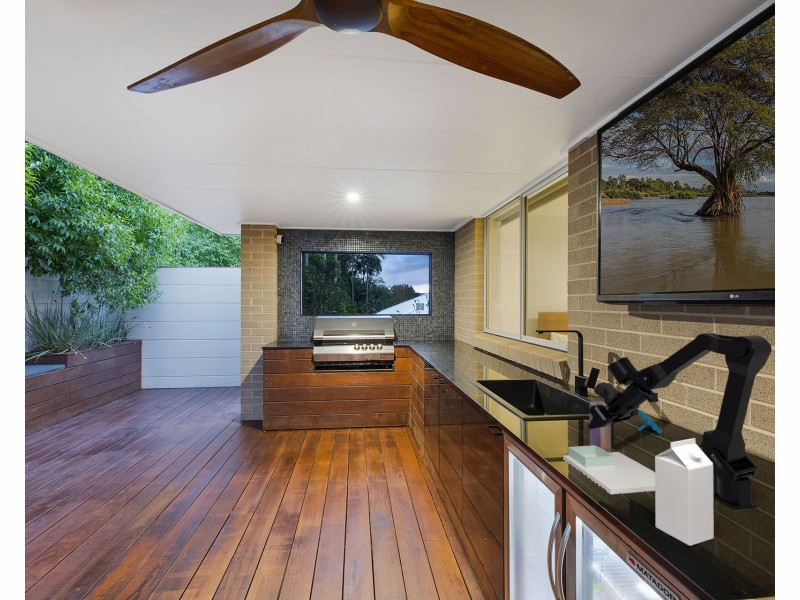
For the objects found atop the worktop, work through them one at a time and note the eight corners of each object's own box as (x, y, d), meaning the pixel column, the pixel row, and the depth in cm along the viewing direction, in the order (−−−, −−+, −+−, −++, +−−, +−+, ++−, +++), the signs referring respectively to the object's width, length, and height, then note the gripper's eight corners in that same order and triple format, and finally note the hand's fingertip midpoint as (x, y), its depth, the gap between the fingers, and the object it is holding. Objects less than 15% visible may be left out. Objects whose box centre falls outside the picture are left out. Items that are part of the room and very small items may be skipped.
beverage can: (589, 452, 127) (588, 404, 127) (590, 446, 133) (590, 400, 133) (610, 456, 125) (610, 406, 125) (611, 449, 130) (610, 402, 130)
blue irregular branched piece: (663, 433, 139) (639, 409, 144) (648, 444, 141) (625, 419, 146) (665, 429, 148) (642, 407, 153) (651, 439, 150) (629, 416, 155)
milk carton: (655, 527, 86) (654, 437, 86) (678, 521, 88) (678, 432, 88) (689, 546, 79) (688, 448, 79) (714, 539, 82) (713, 443, 82)
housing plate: (676, 489, 103) (676, 474, 103) (610, 494, 100) (610, 479, 100) (618, 455, 125) (618, 443, 125) (563, 459, 122) (563, 447, 122)
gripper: (628, 372, 130) (595, 400, 140) (594, 379, 120) (561, 408, 130) (654, 402, 124) (619, 429, 133) (621, 412, 114) (584, 440, 123)
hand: (595, 425), depth 130 cm, fingers open, 7 cm apart
